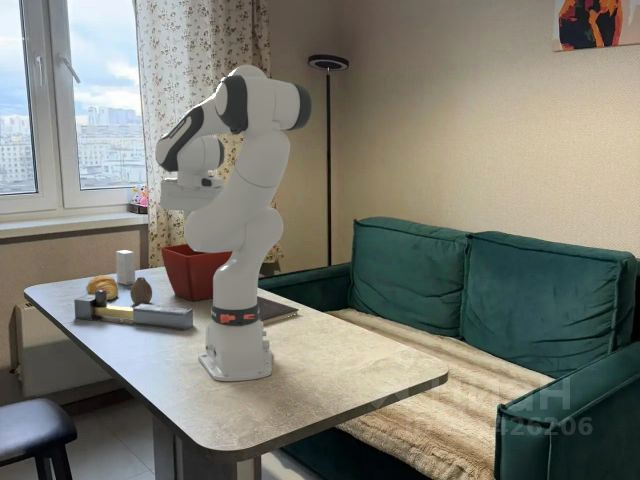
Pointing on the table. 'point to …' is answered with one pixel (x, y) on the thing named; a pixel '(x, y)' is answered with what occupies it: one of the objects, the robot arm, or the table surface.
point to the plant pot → (192, 270)
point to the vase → (141, 291)
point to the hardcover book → (273, 310)
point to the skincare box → (125, 267)
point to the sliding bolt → (109, 307)
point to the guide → (139, 315)
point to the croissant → (103, 286)
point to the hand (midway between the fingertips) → (193, 225)
